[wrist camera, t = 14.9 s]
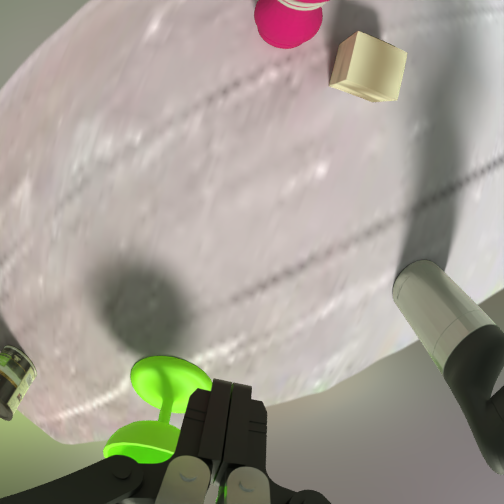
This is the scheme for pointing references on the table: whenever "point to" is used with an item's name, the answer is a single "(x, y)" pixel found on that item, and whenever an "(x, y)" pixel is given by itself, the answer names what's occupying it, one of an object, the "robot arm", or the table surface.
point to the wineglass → (162, 397)
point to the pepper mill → (288, 21)
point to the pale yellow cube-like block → (368, 68)
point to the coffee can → (14, 379)
